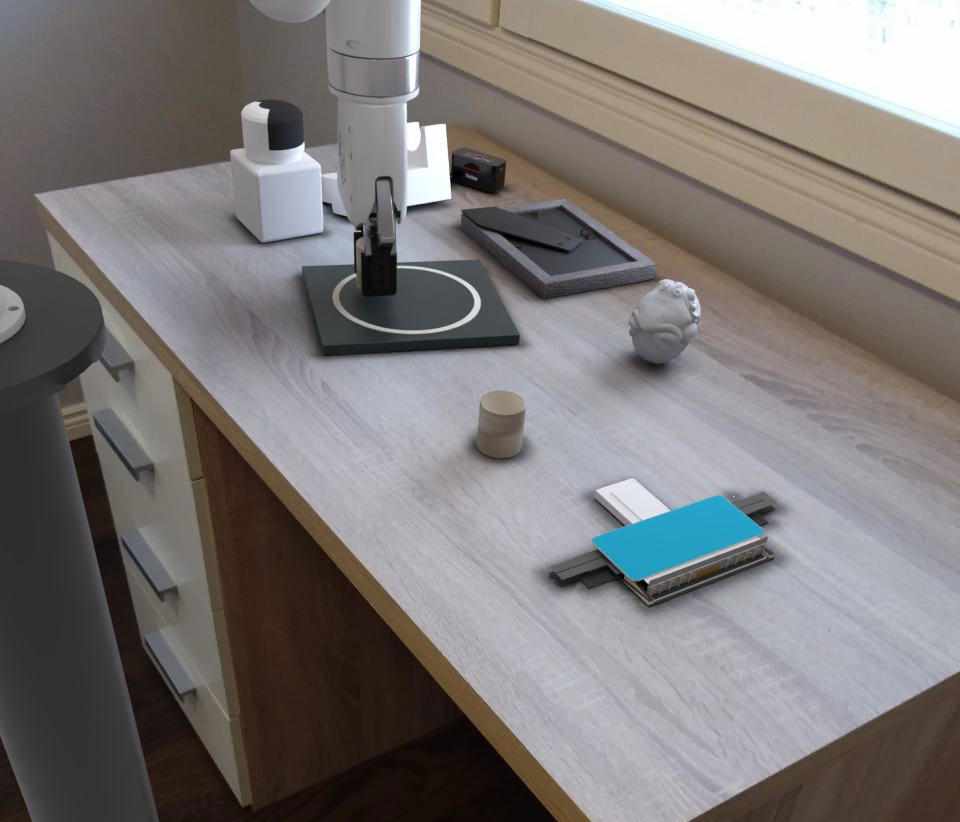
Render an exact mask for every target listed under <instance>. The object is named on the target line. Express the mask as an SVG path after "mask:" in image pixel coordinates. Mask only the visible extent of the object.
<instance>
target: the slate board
mask: <svg viewBox="0 0 960 822" xmlns="http://www.w3.org/2000/svg"><path fill="white" fill-rule="evenodd" d="M301 276H302V279H303V283H304V287H305V291H306V294H307V298H308V302H309V306H310V311H311V314H312V318H313V321H314V325H315V328H316V329H315V330H316V333H317V337H318V340H319V345H320V348H321V351H322V355H323V356H335V355H353V354H354V355H355V354H372V353H373V354H374V353H389V352H391V353H392V352H405V351H407V352H408V351H426V350H427V351H428V350H443V349H445V350H446V349H461V348H476V347H477V348H479V347H495V346H496V347H497V346H515V345H520V340H521V334H520V332H519V330H518V329H517V326H516V325H515V322H514V321H513V319H512V318H511V315H510V313H509V312H508V310H507V308H506V306H505V304H504V302H503V300H502V299H501V297H500V295H499V293H498V291H497V289H496V287H495V286H494V283H493V281H492V280H491V278H490V277H489V274H488V273H487V271H486V269H485V267H484V265H483V263H482V262H481V259H479V258H477V259H453V260H430V261H429V260H428V261H427V260H425V261H404V262H403V261H402V262H401V261H400V262H397V293H396V294H395V295H393V296H374V297H365V296H363V294H362V290H361V289H359V288H358V286H357V275H356V273H355V271H354V263H353V264H352V263H351V264H323V265H322V264H321V265H302V266H301Z"/></svg>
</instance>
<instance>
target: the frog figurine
mask: <svg viewBox="0 0 960 822" xmlns="http://www.w3.org/2000/svg"><path fill="white" fill-rule="evenodd" d="M701 315H702V309H701V304H700V301H699V297H698V296H697V294H696V290H694V289H693V288H689V287H688V286H687V285H686V284H685V283H683V282H680V281H676V280H675V281H674V280H672V279H667V278H664V279H661V280H659V281H658V283H657V285H656V286H655V287H653V288H652V289H650V291H649V292H648V293H647V294H645V295H644V296H642V297H641V298H640V300H639V301H638V302H637V303H636V308H635V309H633V310H632V312H631V314H630V318H629V319H628V325H629V326H630V328H629V331H628V334H629V336H630V337H631V342H632V345H633V348H634V350H635V352H636V353H637V355H639V357H640V358H641V359H643V360H645V361H646V362H649V363H651V364H665V363H669V362H671V361H673V360H674V359H676V358H677V357H679V355H681V354H682V352H684V351H685V349H686V347H688V346H689V344H690V342H691V339H692V338H694V337H695V336H696V335H697V333H698V324H699V323H700V320H701V317H702V316H701Z"/></svg>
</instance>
